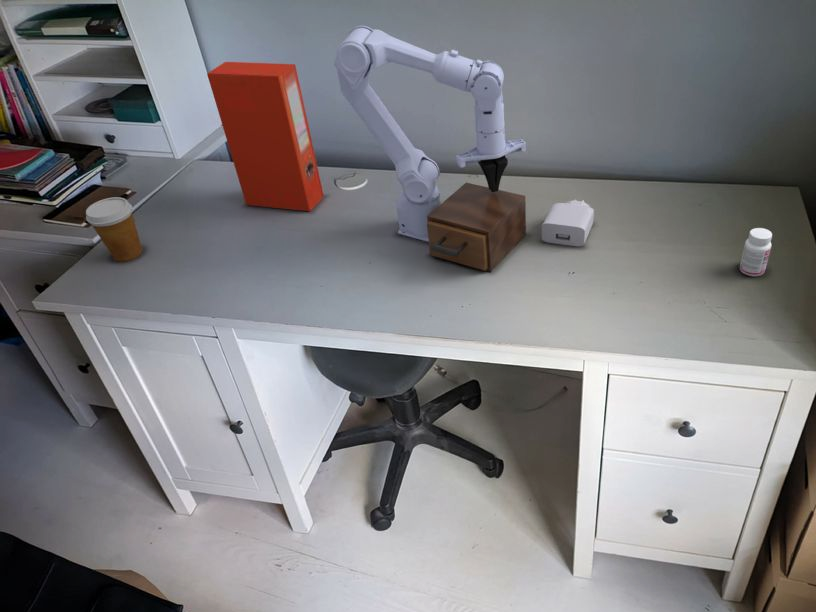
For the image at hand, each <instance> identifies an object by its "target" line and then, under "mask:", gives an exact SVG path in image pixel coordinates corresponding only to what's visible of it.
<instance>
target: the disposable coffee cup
mask: <svg viewBox="0 0 816 612" xmlns="http://www.w3.org/2000/svg"><path fill="white" fill-rule="evenodd" d="M85 215H86V216H85V220H86V222H88V223H89V224H90V225H91V226H92V228H93V229H94V230H95V232H96V234H97V235H98V237H99V238H100V240H101V241H102V243H103V245H104V246H105V247H106V249H107V251H108V252H109V253H110V255H111V257H112V258H113V260H114V261H116V262H120V263H123V262H130V261H132V260H135V259H137V258H138V257H139V256H141V255H142V253H143V247H142V243H141V241H140V236H139V233H138V229H137V226H136V222H135V219H134V214H133V205H132V204H131V203H130V202H129V201H128V200H127V199H126V198H124V197H120V196H119V197H118V196H116V197H108V198H103V199H101V200H97V201H95V202H94V203H92V204H90V205H89V206H88V207H87V208H86V210H85Z"/></svg>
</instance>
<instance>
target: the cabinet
mask: <svg viewBox="0 0 816 612" xmlns="http://www.w3.org/2000/svg"><path fill="white" fill-rule="evenodd" d="M526 206H527V203H526V195H524V194H520V193H515V192H510V191H506V190H503V189H498V191H496V192H491V190H490V189H489V187H488V186H484V185H480V184H475V183H471V182H465V183H463V184H462V185H461V186H460V187H459V188H458V189H456V191H454V192H453V193H452V194H451V195H449V196H448V197H447V198H446V199H445V200H444V201H443V202H441V204H440V205H439V206H438V207H437V208H436V209H434V210H433V211H432V212H431V213H430V214H429V215H427V221H428V222H429V221H434V222H440V223H444V224H448V225H452V226H456V227H460V228H463V229H467V230H471V231H475V232H479V233H483V234H486V241H487V258H488V268H487V269H486V270H485V271H487V272H489V273H492V272H493V270H494V269H495V268H497V266H499V264H500V263H501V262H502V261H504V259H505V258H506V257H507V256H508V255H509V254H510V253H511V252H512V251H513V249H514V248H515V247H517V246H518V244H519V243H520V242H521V241H522V240H523V239H524V238H525V237H526V236H527V225H526V224H527V213H526V212H527V207H526Z"/></svg>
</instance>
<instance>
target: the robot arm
mask: <svg viewBox="0 0 816 612" xmlns="http://www.w3.org/2000/svg"><path fill="white" fill-rule="evenodd" d="M388 63H395V64H398V65H402V66H405V67H409V68H413V69H415V70H420V71H422V72H427V73H430V74H431V75H432V76H433V78H434V79H435V81H436V82H437V83H440V84H442V85H445V86H449V87H452V88H454V89H458V90H460V91H463V92H467V93H470V95H472V97H473V99H474V119H475V122H474V123H475V135H476V147H474V148H471V149H469V150H466V151H465V152H463V153H460V154H456V163H457V165H458V167H459V168H460V169H462V168H465V167H466V166H467V165H471V164H475V163H478V165H479V167H480V169H481V170H482V172H483V175H484V177H485V181H486V183H487V187H488V188H489V189H490V190H491V192H496V191H498V190H500V189H499V188H500V183H501V180H502V177H503V174H504V171H505V170H506V168H507V166H508V164H509V159H508V158H507V157H506V155H510V154H515V153H519V152H520V153H524V152H526V151H527V150H526V148H527V142H526V141H525V140H524V139H522V138H520V139H515V140H514V139H513V140H506V129H505V128H506V127H505V126H506V125H505V104H504V102H503V101H504V96H503V85H504V81H505V75H504V70H503V69H502V67H501V66H500V65H499V64H497V63H496V62H495V61H493V60H491V59H490V60H484V61H482V60H481V59H477V60H474V59H471V58H468V57H465V56H462V55H459V51H458V50H456V49H451V51H447V50H443V51H442V52H440V53H438V54H436V53H435V52H434V53H433V52H431V51H429V50H426V49H424V48H421V47H419V46H416V45H413V44H412V43H409V42H406V41H404V40H401V39H398V38H396V37H394V36H391V35H390V34H388V33H386V32H385V31H382V30H381V29H376V28H374V29H373V28H372V27H369V26H368V25H367V26H366V25H357V26H355V27H354V28H352V30H351V31H349V34H348V35H347V36H346V38H345V39H344V41H342V42H341V43H340V44H339V46H338V47H337V49H336V52H335V57H334V62H333V66H334V67H335V69H336V71H337V76H338V82H339V88H340V92H341V93H342V95H343V97H344V99H346V100H347V102H348V103H349V105H350V106H351V108H352V109H353V110H354V112H355V113H356V114H357V116H358V117H359V118H360V120H361V121H362V123H363V124H364V126H366V128H367V129H368V131H369V132H370V133H371V135H372V136H373V138H374V139H375V140H376V141H377V143H378V144H379V146H380V147H381V148H382V150H383V151H384V153H386V155H387V156H388V158H389V159H390V160H391V162H392V163H393V165H394V167H395V172H396V177H397V180H398V182H399V183H400V185H401V189H402V191H401V192H400V193H399V195H398V197H397V200H396V213H397V219H398V220H397V221H398V227H399V230H398V231H397V233H398V235H401V236H405V237H408V238H413V239H415V240H419V241H423V242H427V243H429V239H428V230H427V222H428V221H427V215H429V214H430V213H431V212H432V211H433V210H434V209H436V208H437V207H438V206H439V205H440V204H441V203H442V202H441V201H442V200H441V192H440V189H439V188H438V186H437V180H438V179H439V177H440V168H439V165H438V164H437V163H436V161H434V160H433V159H431V158H429V157H428V156H427V155H426V154H425V152H424V151H423V150H421V149H418V148H416V147H415V146H414V145H413V144H412V142H411V141H410V140H409V138H408V136H406V134H405V132H404V131H403V130H402V128H401V126H400V125H399V124H398V123H397V122H396V120H395V119H394V117H393V116H392V114H391V112H390V111H389V110H388V109H387V107H386V106H385V104H384V103H383V102H382V100H381V99H380V97H379V96H378V94H377V93H376V91H374V89H373V87H372V86H371V85H370V78H371V73H372V69H377V68H379V67H382V66H384V65H387V64H388Z"/></svg>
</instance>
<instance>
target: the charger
mask: <svg viewBox="0 0 816 612" xmlns="http://www.w3.org/2000/svg"><path fill="white" fill-rule="evenodd" d="M594 215H595V210H594V208H592V207H591V206H590V204H588V203H586V202H585V200H584V199H582V200H577V198H575V199H573V200H572V199H570V200H568V201H566V202H564V203H563V202H556V203H553V204H552V205H551V207H550V209H549V211H548V213H547V215H546V217H545V218H544V221H543V222H542V225H541V240H542V241H543V242H545V243H549V244H556V245H562V246H571V247H583V246H584V245H585V243H586V242H587V239H588V236H589V234H590V232H591V229H592V228H593V224H594V218H595V217H594Z"/></svg>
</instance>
